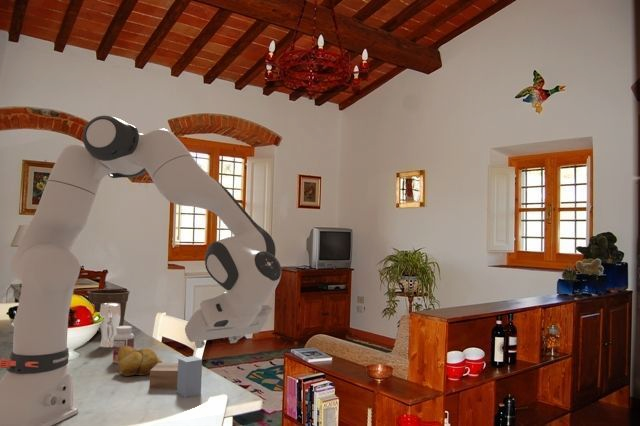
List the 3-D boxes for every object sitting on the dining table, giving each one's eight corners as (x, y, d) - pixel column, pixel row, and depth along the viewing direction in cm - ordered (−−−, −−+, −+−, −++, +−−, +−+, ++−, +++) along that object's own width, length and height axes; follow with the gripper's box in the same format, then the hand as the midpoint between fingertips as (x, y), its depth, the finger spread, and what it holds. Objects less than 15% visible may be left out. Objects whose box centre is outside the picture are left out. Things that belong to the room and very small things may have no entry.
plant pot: (121, 325, 225) (122, 288, 225) (134, 331, 212) (135, 292, 213) (81, 329, 215) (82, 289, 215) (92, 336, 202) (93, 294, 203)
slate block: (200, 394, 136) (202, 359, 136) (185, 397, 133) (186, 362, 133) (192, 389, 139) (193, 356, 140) (177, 392, 136) (178, 358, 137)
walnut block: (179, 389, 140) (180, 371, 140) (149, 389, 140) (150, 370, 140) (185, 381, 148) (186, 363, 148) (157, 380, 148) (158, 362, 148)
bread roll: (161, 367, 160) (162, 341, 161) (163, 376, 151) (164, 348, 152) (116, 370, 156) (117, 343, 156) (116, 379, 147) (117, 351, 147)
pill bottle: (129, 358, 170) (130, 324, 170) (136, 362, 165) (137, 327, 166) (109, 360, 166) (111, 326, 167) (116, 365, 161) (117, 329, 162)
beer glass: (98, 344, 188) (99, 303, 189) (118, 343, 191) (120, 302, 192) (98, 348, 182) (100, 305, 182) (119, 347, 185) (121, 305, 185)
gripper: (269, 294, 129) (245, 327, 136) (195, 300, 116) (173, 337, 123) (279, 315, 126) (255, 348, 133) (204, 324, 112) (182, 360, 119)
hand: (215, 343), depth 128 cm, fingers open, 8 cm apart
